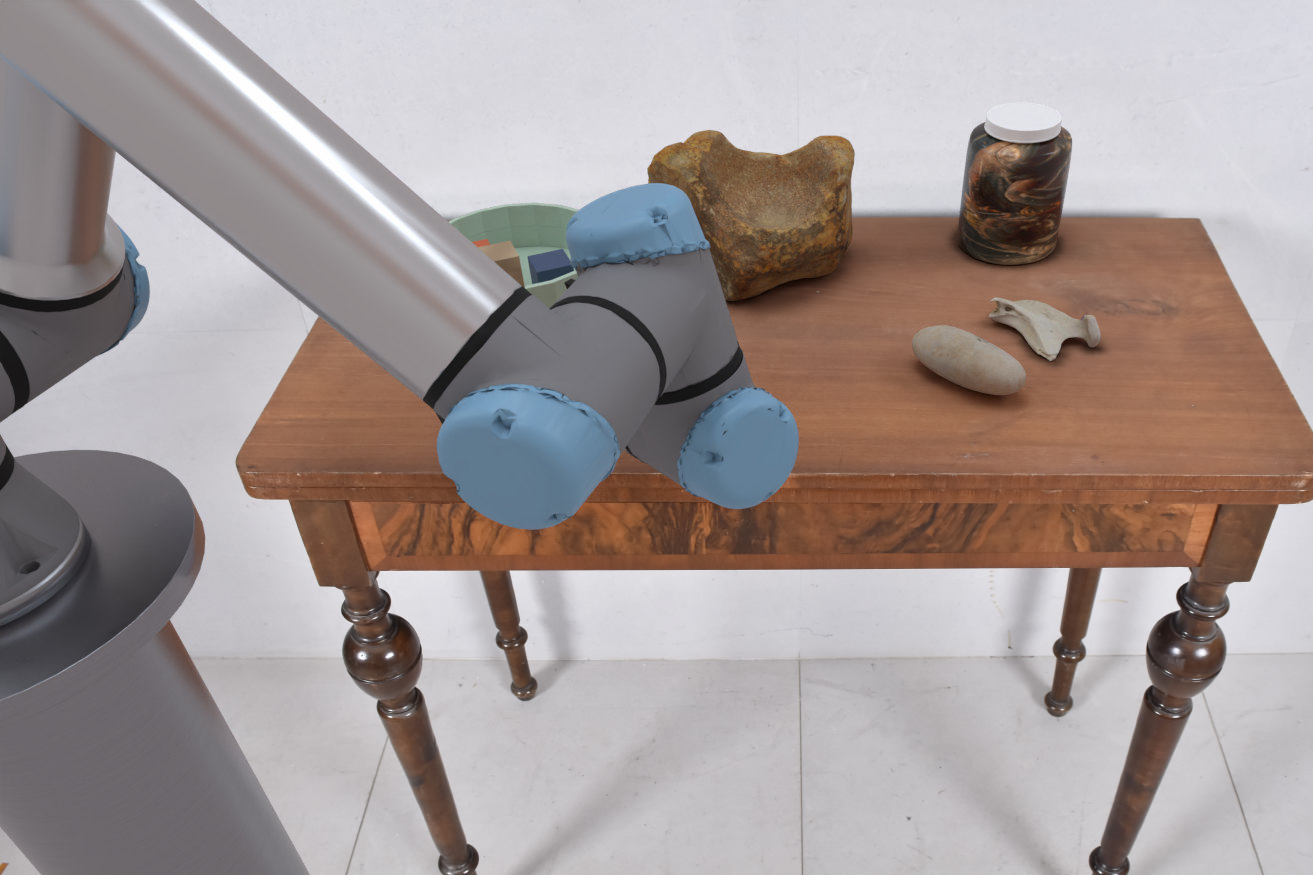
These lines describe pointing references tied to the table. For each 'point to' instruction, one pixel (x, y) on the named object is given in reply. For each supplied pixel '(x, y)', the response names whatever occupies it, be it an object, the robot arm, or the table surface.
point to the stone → (968, 360)
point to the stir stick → (505, 259)
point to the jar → (1014, 184)
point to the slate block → (549, 265)
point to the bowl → (524, 237)
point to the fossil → (1044, 325)
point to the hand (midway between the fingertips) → (507, 332)
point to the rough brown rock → (764, 207)
